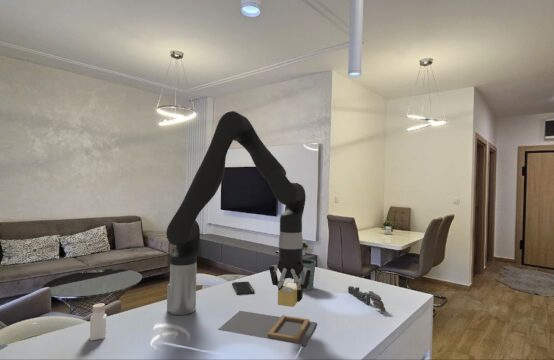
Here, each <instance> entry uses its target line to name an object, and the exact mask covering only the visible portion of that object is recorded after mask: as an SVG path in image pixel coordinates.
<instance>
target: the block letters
mask: <svg viewBox="0 0 554 360" xmlns="http://www.w3.org/2000/svg"><path fill="white" fill-rule="evenodd" d="M347 290H348V291H347V293H349V294H350V295H352V296H354V298H356V299H357V300H359V301H361V302H362V303H363V304H365V305H366V306H371V301H372V304H373V306H374V307H375V308H377V309H378V310H379V311H381V313H386V312H387V311H386V307H385V304H384V302H383V301H382V297H381V296H380V295H379V294H377V293H375V292H373V291H372V290H369V291H368V292H367V291H366V292H362V291H360V287H354V286H353V285H351V286H348V287H347Z"/></svg>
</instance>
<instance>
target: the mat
mask: <svg viewBox="0 0 554 360" xmlns="http://www.w3.org/2000/svg"><path fill="white" fill-rule="evenodd" d="M316 327H317V322H315V321H311V320H310V319H309V318H303V317H302V318H301V317H295V316H290V315H283V314H282V315H281V316H277V315H272V314H264V313H256V312H252V311H244V310H239V311H238V312H236V313H235V314H234V315H233V316H231V317H230V318H229V319H228V320H227V321H226V322H225V323H223V325H221V326H219V328H217V330H219V331H222V332H230V333H233V334H240V335H246V336H252V337H257V338H262V339H267V340H272V341H274V340H275V341H280V342H285V343H289V344H290V343H291V344H296V345H300V347H303V348H305V347H306V346H307V345H308V342H309V340H310V338H311V336H312V334H313V332H314V331H315V328H316Z"/></svg>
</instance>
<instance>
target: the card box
mask: <svg viewBox="0 0 554 360" xmlns="http://www.w3.org/2000/svg"><path fill="white" fill-rule="evenodd" d="M297 290H298V288H297V285H296V283H294V282H288V281H287V282H286V283H284V284H283V287H282V288H281V289H280V290H279V291H278V290H277V306H283V307H289V308H290V307H292V308H294V307H295V306H296V305H297V303H298V302H297Z"/></svg>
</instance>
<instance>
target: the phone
mask: <svg viewBox="0 0 554 360" xmlns="http://www.w3.org/2000/svg"><path fill="white" fill-rule="evenodd" d="M231 285H232V288H233V290H234V292H235V294H236V296H243V295H253V294H255V293H256V292H255V289H254V288H253V286H252V285H251V283H250V281H236V282H235V281H233V282H232V283H231Z"/></svg>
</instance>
